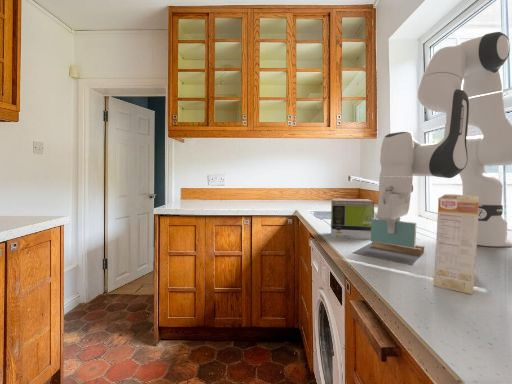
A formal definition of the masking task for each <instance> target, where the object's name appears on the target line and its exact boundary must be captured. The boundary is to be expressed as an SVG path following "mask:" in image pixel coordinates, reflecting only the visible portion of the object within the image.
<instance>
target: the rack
mask: <svg viewBox="0 0 512 384" xmlns="http://www.w3.org/2000/svg"><path fill="white" fill-rule="evenodd" d="M371 243H372V247H375V248H381V249H386V250H392V251H398V252H403V253H409V254H414V255H420V257H421V256H422V255H423V254H424V253H425V246H422V245H416V244H415V248H411V247H405V246H399V245H392V244H386V243H380V242H373V241H371ZM422 253H423V254H422Z"/></svg>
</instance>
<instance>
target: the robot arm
mask: <svg viewBox="0 0 512 384" xmlns="http://www.w3.org/2000/svg"><path fill="white" fill-rule="evenodd" d="M509 40H510V39H509V38H508V36H507V35H506V34H505V33H503V32H501V31H496V32H489V33H485V34H484V35H482V36H479V37H474V38H472V39H471V38H470V39H468V40H465V41H463V42H461V43H459V44H457V45H454V46H453V45H452V46H451V45H450V46H445V47H442V48H440V49H438V50H436V51H435V52H434V53H433V54H432V56H431V58H430V60H429V62H428V63H427V65H426V67H425V69H424V72H423V75H422V77H421V80H420V84H419V86H418V91H417V99H418V101H419V103H420V105H422V107H423V108H425V109H427V110H429V111H431V112H435V113H439V114H445V124H444V133H443V137H442V139H441V140H440V141H438V142H433V143H421V142H418V141H417V140H415V138H414V135H413V134H414V133H413V132H412V131H410V130H405V131H403V130H402V131H399V132H397V131H396V132H392V133H388V134H386V135H385V136H383V139H382V143H381V148H380V156H379V157H380V159H379V161H380V162H379V163H380V172H379V177H378V180H379V181H378V192H380V194H379V197H378V203H377V214H376V215H377V216H376V217H377V219H379V220H383V221H386V223H387V227H388V231H387V232H388V233H390V234H393V233H395V221H401V217H403V216H406V215H408V213H409V210H410V205H411V204H410V202H411V196H412V195H411V194H412V193H413V192H414V185H413V179H414V177H415V176H416V177H436V178H443V179H444V178H445V179H452V178H454V177H456V176H457V175H459V177H460V179H461V184H462V195H469V196H478V197H479V209H478V231H477V246H482V247H484V246H485V247H510V248H511V247H512V241H510V240H508V239H507V238H508V221H506V220H505V219H504V218H503V217H502V216H503V211H504V205H503V204H502V197H503V188H504V187H503V183H502V182H501V180H499V179H498V178H496V177H494V176H492V175H489V174H488V173H487V172H486V170H485V166H486V167H487V166H488V167H489V166H490V167H491V166H510V165H512V123H511V122H510V121H509V119H508V116H507V115H506V110H505V109H506V108H505V103H504V88H503V80H502V75H501V74H502V73H501V71H500V69H501V67H502V66H503V65H504V64H505V63H506V61H507V59H508V58H509V56H510V51H511V45H510V41H509ZM468 125H469V126H473V127H476V128H477V129H479V130H480V131H481V133H482V135H473V136H468V128H469V127H468Z"/></svg>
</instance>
